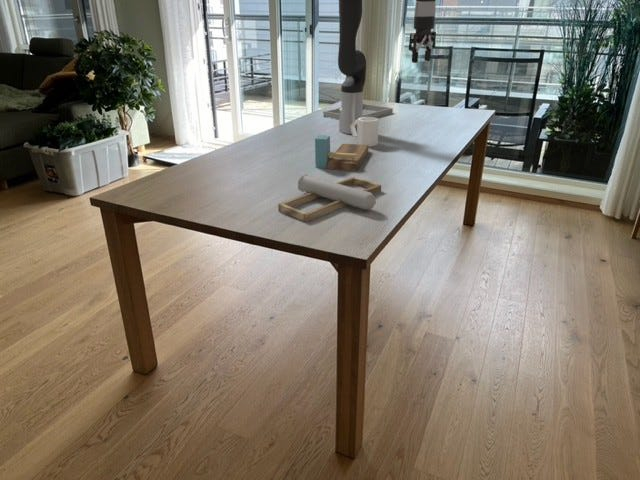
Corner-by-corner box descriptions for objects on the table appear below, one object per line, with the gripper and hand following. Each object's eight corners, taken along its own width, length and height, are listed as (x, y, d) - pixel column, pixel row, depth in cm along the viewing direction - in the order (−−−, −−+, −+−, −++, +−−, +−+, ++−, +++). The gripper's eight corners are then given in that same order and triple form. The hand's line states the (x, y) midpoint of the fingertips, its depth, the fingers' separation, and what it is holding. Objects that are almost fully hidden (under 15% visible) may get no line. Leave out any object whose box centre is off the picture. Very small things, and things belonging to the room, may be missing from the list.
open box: (327, 168, 163) (327, 161, 162) (342, 150, 184) (342, 143, 183) (356, 170, 161) (356, 163, 160) (368, 151, 181) (368, 144, 180)
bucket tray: (323, 116, 239) (323, 111, 238) (361, 107, 257) (361, 103, 256) (355, 122, 225) (355, 117, 224) (392, 113, 244) (392, 108, 243)
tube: (381, 193, 129) (310, 174, 143) (371, 192, 125) (299, 173, 139) (376, 212, 130) (307, 192, 144) (366, 212, 126) (295, 191, 140)
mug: (381, 142, 193) (382, 118, 188) (370, 147, 186) (371, 122, 182) (356, 138, 199) (356, 114, 194) (344, 143, 193) (345, 118, 188)
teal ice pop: (315, 167, 165) (315, 138, 160) (319, 163, 169) (318, 135, 165) (354, 169, 162) (354, 140, 157) (356, 165, 166) (357, 137, 162)
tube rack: (278, 210, 131) (278, 204, 130) (353, 182, 150) (353, 176, 149) (306, 222, 124) (306, 215, 123) (381, 191, 143) (381, 184, 142)
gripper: (422, 15, 169) (418, 64, 177) (443, 14, 178) (439, 60, 186) (404, 15, 174) (402, 62, 181) (426, 14, 183) (423, 59, 190)
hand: (421, 61), depth 184 cm, fingers open, 8 cm apart
